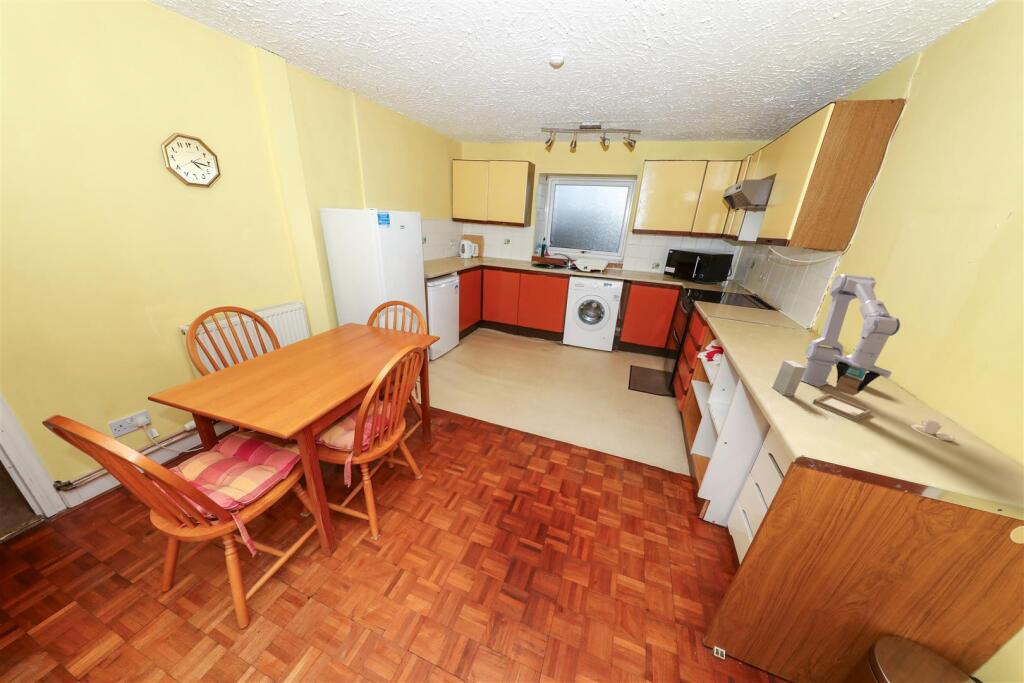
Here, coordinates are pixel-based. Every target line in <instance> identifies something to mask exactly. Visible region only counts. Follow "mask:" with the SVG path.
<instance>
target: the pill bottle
mask: <svg viewBox="0 0 1024 683" xmlns="http://www.w3.org/2000/svg"><path fill="white" fill-rule="evenodd" d="M852 355H853V353H852V354H847V355H846V357H847V358H851V357H852ZM866 373H868V371H865V370H862V369H859V368H856V367H853V366H850V368H849V369H848V371H847V372H846V374H848V375H851V376H854V377H857V378H860V379H864V376H865V374H866ZM846 374H845V375H846ZM837 376H838V374H836V377H837Z"/></svg>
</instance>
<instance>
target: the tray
mask: <svg viewBox="0 0 1024 683" xmlns="http://www.w3.org/2000/svg"><path fill="white" fill-rule="evenodd" d="M812 404H813V405H816V406H818V407H821V408H823V409H825V410H828V411H830V412H833V413H835V414H837V415H840V416H842V417H845V418H847V419H849V420H852V421H854V422H857V421H859V420H861V419H863V418H865V417H867V416H868V415H870V414H871V413H872V409H869V408H867V407H865V406H861V405H860V404H857V403H854V402H852V401H849V400H847V399H844V398H841V397H839V396H836V395H834V394H831V393H827V394H824V395H822V396H819V397H817V398H815V399H813V401H812Z"/></svg>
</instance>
